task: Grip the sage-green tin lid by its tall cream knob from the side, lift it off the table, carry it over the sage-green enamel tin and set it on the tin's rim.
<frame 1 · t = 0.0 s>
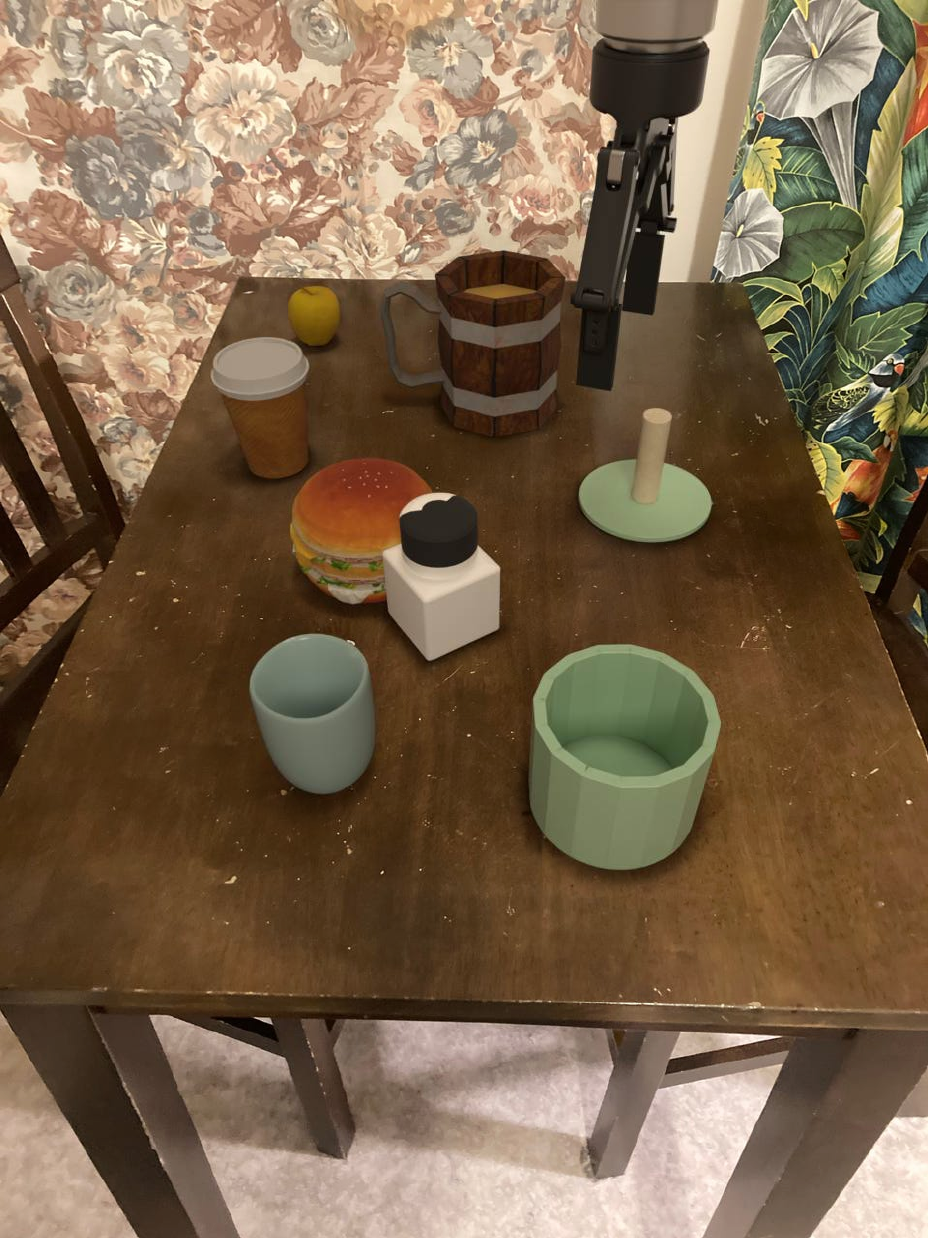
hand: (617, 346, 71), 18 cm above the table, tool pointing down, fingers open, 13 cm apart
cup: (328, 767, 64), on the table
disposable coffee cup: (279, 463, 92), on the table
mug: (472, 405, 100), on the table
burger: (369, 568, 80), on the table, touching medicine bottle
apple: (319, 345, 111), on the table
tin lid: (643, 501, 85), point 1 cm above the table
tin: (610, 796, 61), on the table
medicine bottle: (443, 623, 74), on the table, touching burger
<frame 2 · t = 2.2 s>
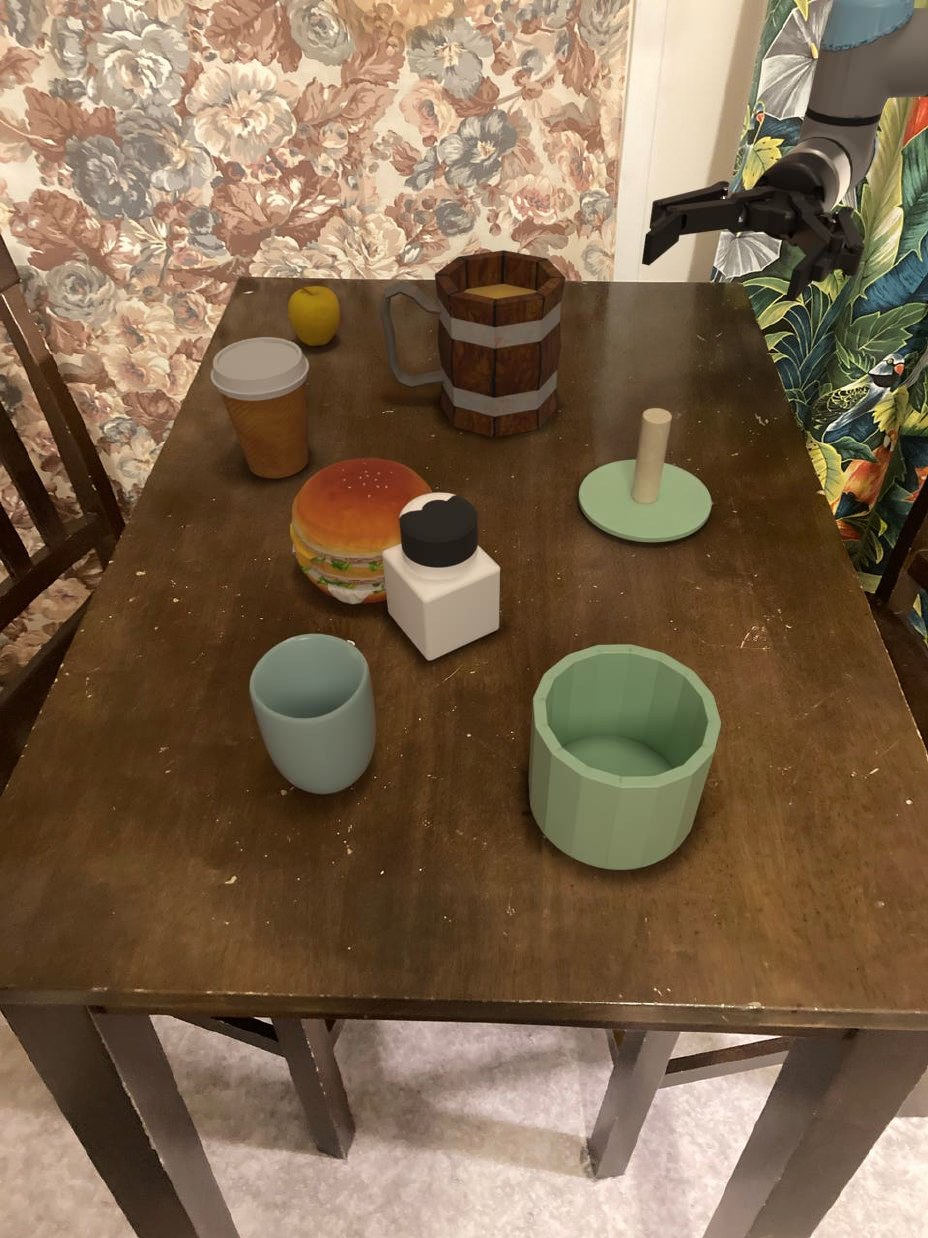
hand: (717, 267, 76), 20 cm above the table, tool horizontal, fingers open, 13 cm apart
nothing on the table moved.
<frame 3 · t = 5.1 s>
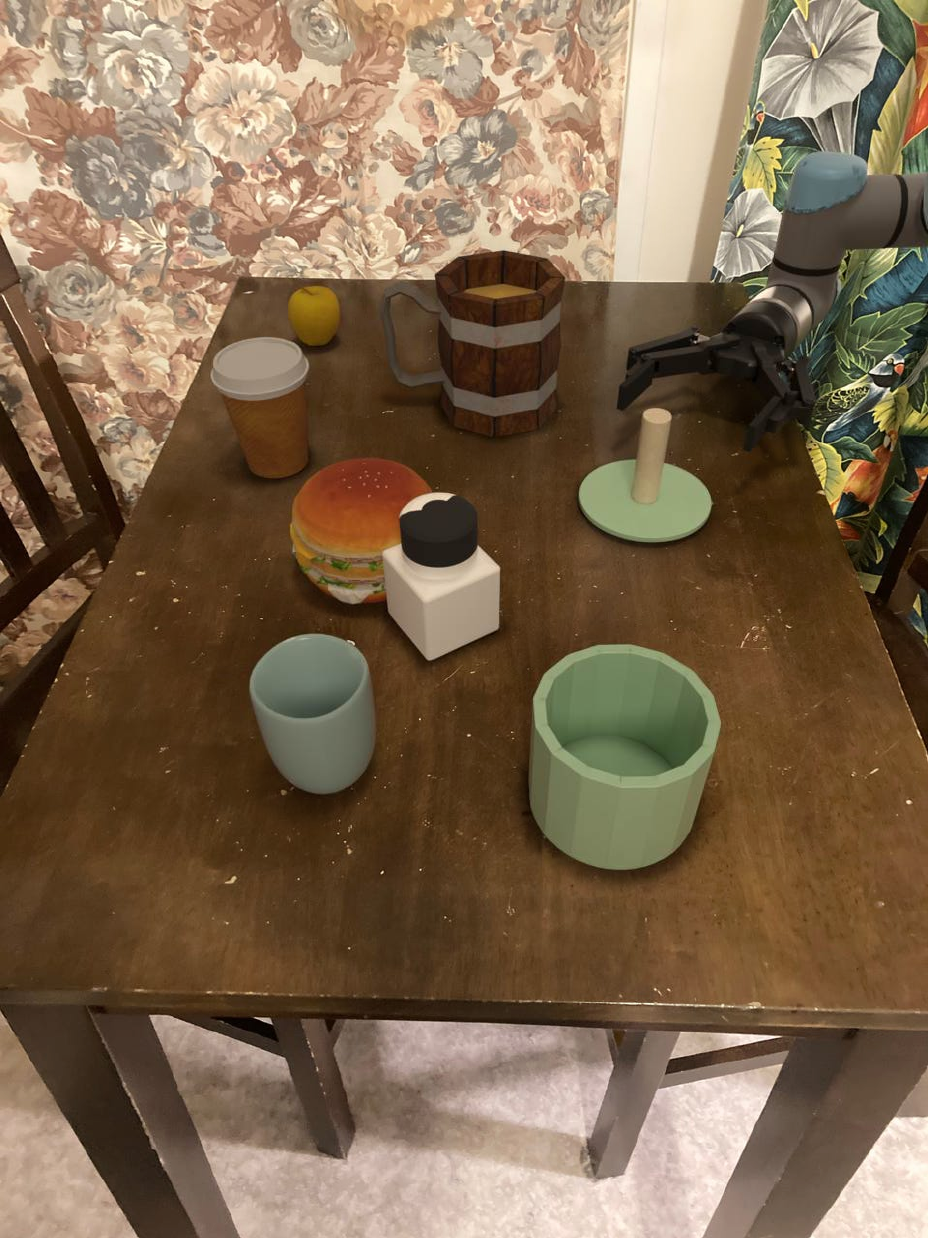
hand: (682, 418, 85), 6 cm above the table, tool horizontal, fingers open, 13 cm apart
nothing on the table moved.
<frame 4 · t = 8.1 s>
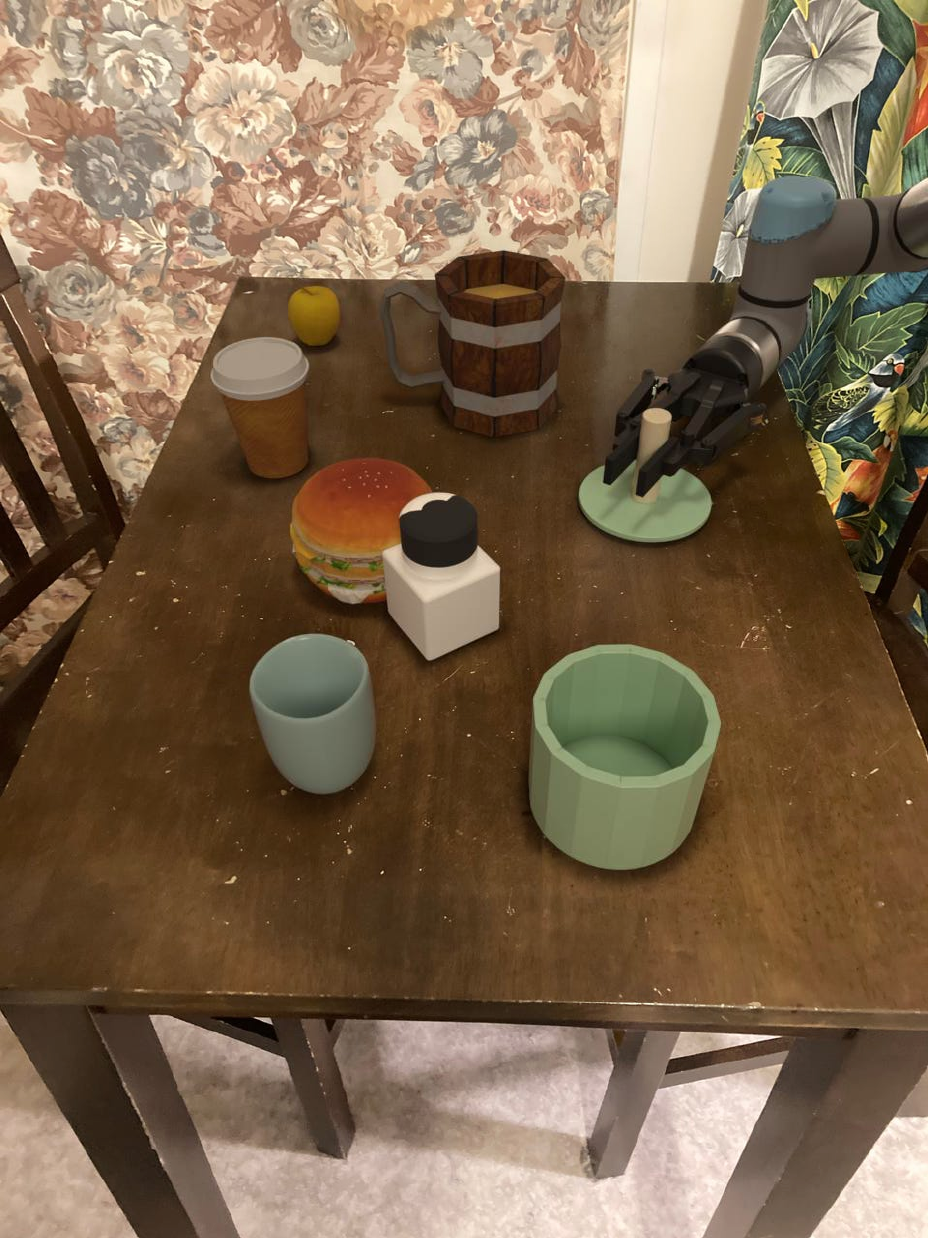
hand: (624, 477, 78), 7 cm above the table, tool horizontal, fingers closed on tin lid, 3 cm apart
tin lid: (643, 501, 85), point 1 cm above the table, touching gripper
everything else where it was.
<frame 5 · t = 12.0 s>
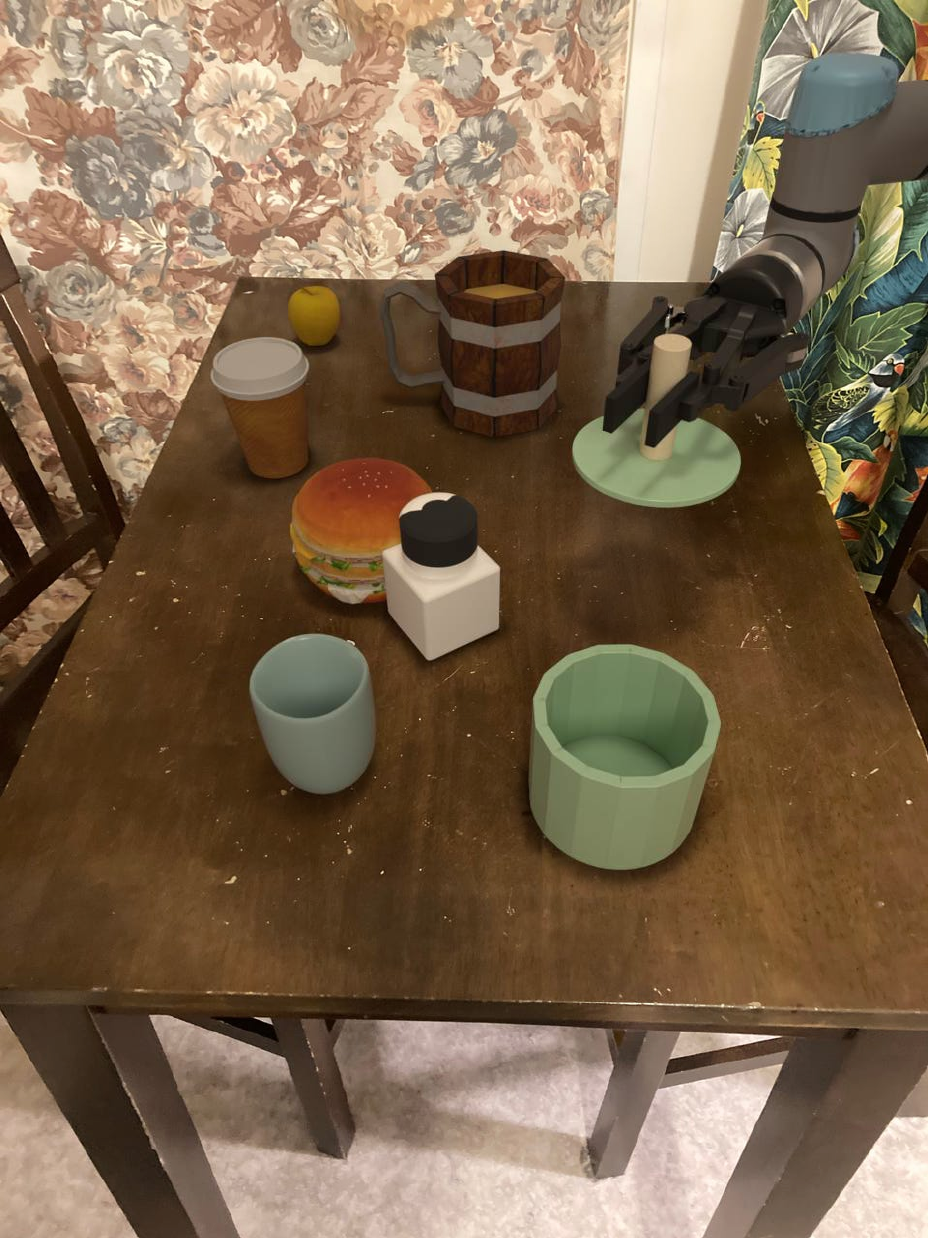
hand: (630, 422, 60), 20 cm above the table, tool horizontal, fingers closed on tin lid, 3 cm apart
tin lid: (654, 458, 67), point 14 cm above the table, touching gripper
everything else where it was.
when the fingers open (15 cm above the table, at t = 16.2 s): tin lid stays where it is, resting on tin.
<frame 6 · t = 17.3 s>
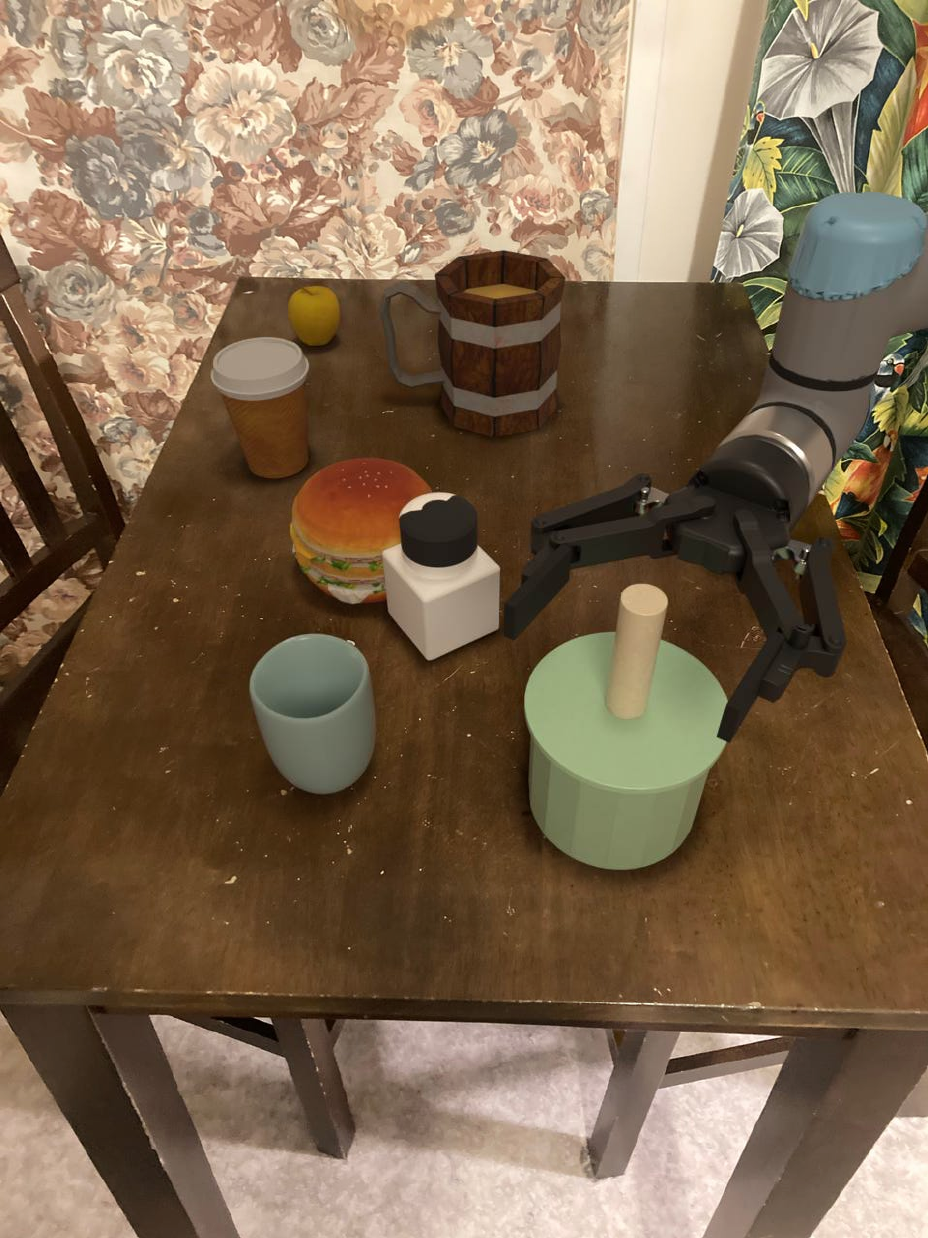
hand: (611, 670, 48), 16 cm above the table, tool horizontal, fingers open, 13 cm apart
tin lid: (625, 709, 55), point 9 cm above the table, touching tin
everything else where it was.
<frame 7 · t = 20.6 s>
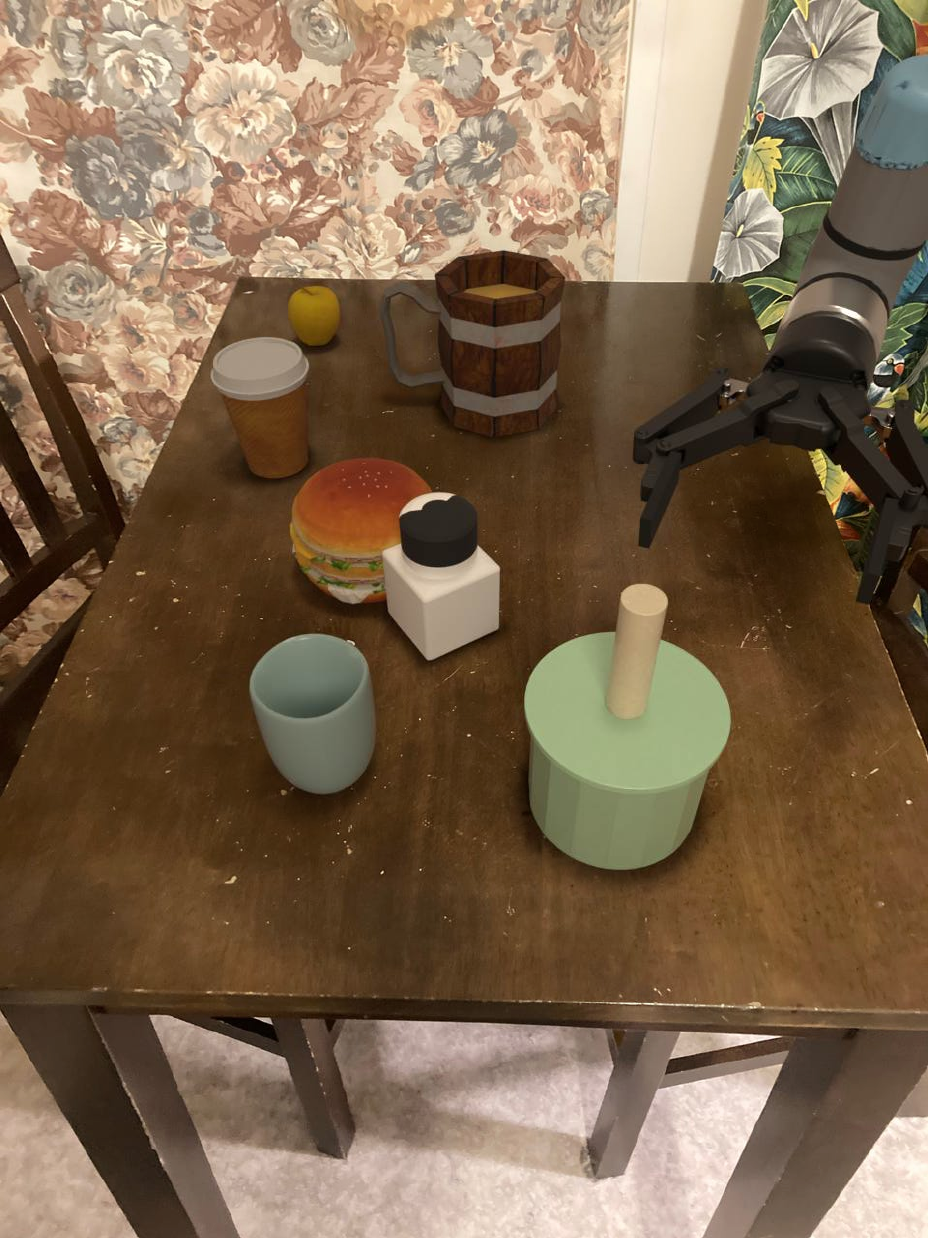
hand: (751, 560, 53), 17 cm above the table, tool horizontal, fingers open, 13 cm apart
nothing on the table moved.
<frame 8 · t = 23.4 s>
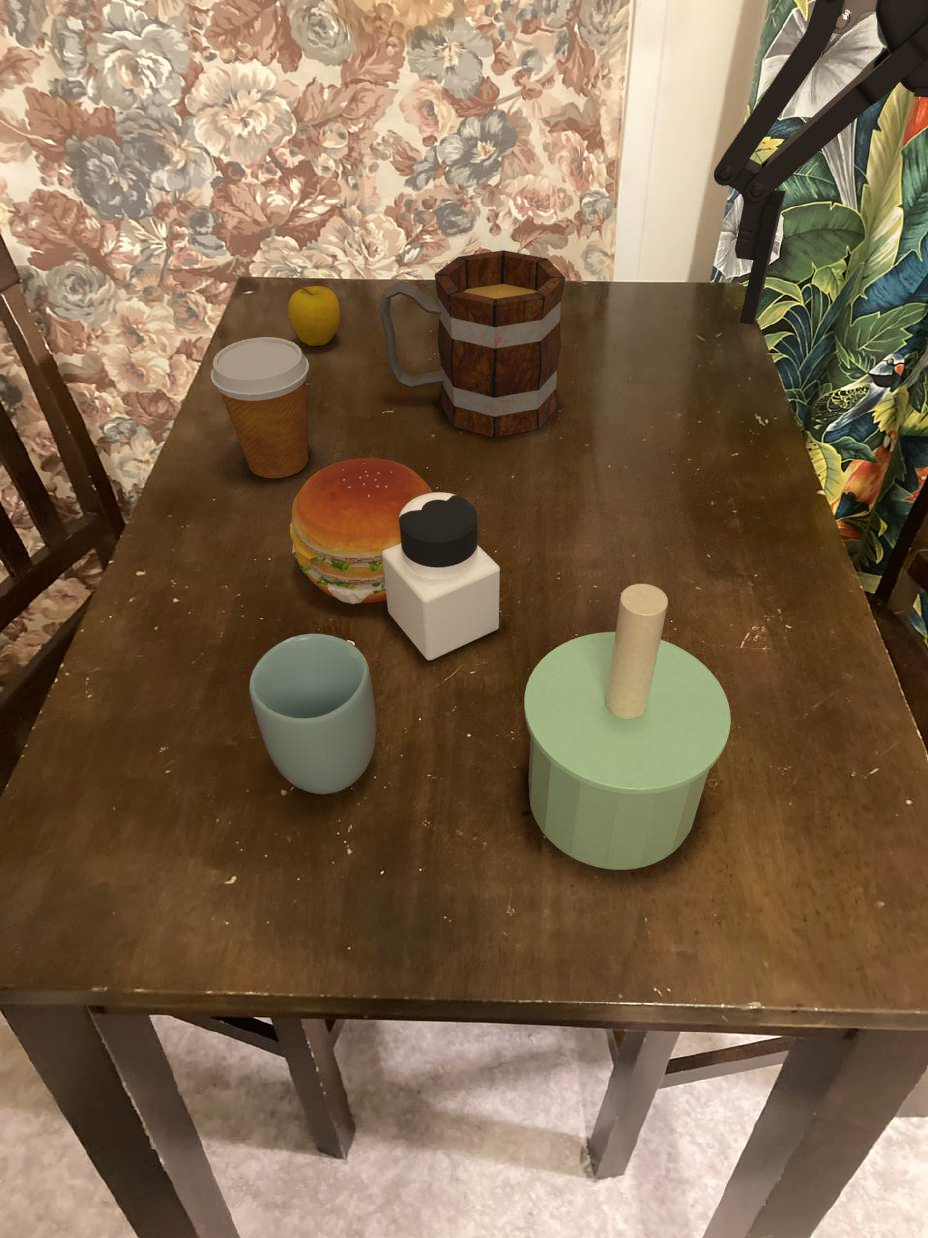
hand: (870, 332, 49), 29 cm above the table, tool pointing down, fingers open, 13 cm apart
nothing on the table moved.
at the end: tin lid 0.0 cm off-centre on the tin, point 9.5 cm above the tin's base; tin lid tilted 0°; the gripper is holding nothing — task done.
